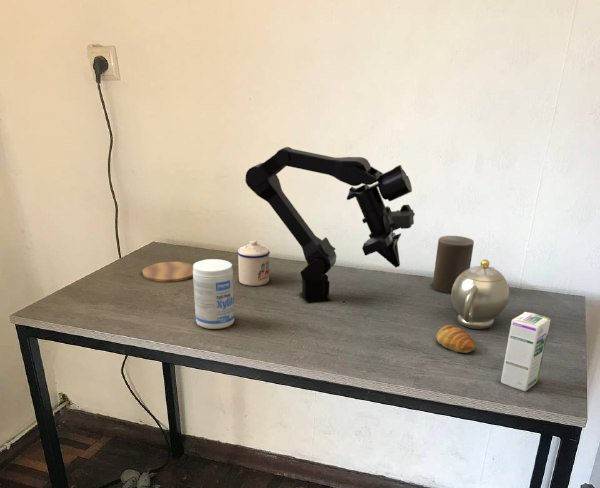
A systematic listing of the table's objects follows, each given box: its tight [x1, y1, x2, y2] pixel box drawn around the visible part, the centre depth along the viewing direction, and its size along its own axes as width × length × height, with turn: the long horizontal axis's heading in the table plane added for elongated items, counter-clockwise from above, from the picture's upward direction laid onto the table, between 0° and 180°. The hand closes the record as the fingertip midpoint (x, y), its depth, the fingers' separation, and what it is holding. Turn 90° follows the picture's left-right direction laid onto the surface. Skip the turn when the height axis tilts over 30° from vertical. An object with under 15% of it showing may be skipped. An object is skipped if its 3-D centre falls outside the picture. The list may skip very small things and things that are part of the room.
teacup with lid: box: [237, 240, 271, 287], centre depth 181 cm, size 12×9×12 cm
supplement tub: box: [192, 258, 235, 330], centre depth 153 cm, size 10×10×15 cm
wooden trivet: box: [142, 261, 194, 283], centre depth 188 cm, size 16×16×1 cm
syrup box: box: [500, 311, 551, 392], centre depth 129 cm, size 6×6×14 cm
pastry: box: [435, 324, 476, 354], centre depth 146 cm, size 9×7×4 cm
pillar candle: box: [432, 235, 475, 294], centre depth 178 cm, size 10×10×15 cm
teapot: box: [450, 259, 510, 330], centre depth 154 cm, size 18×14×16 cm
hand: (397, 266), depth 162 cm, fingers closed
